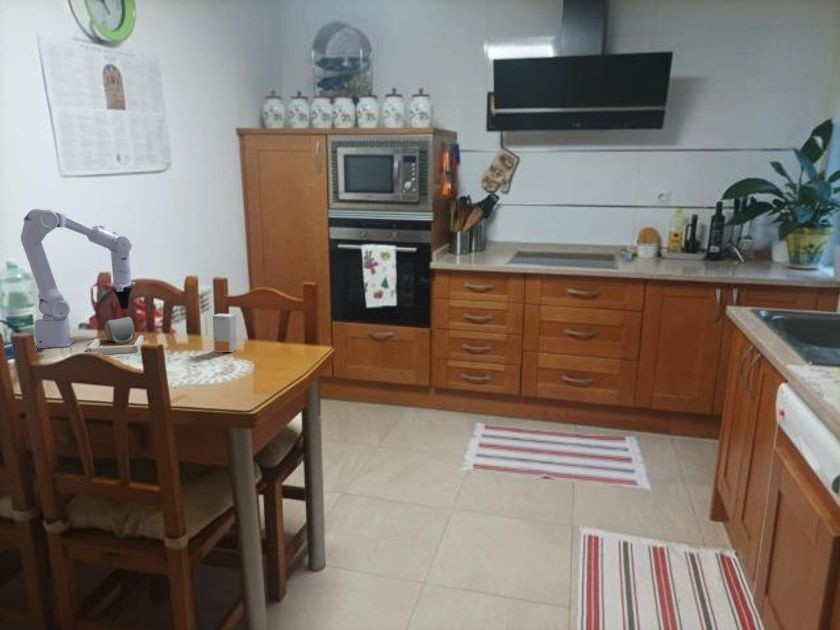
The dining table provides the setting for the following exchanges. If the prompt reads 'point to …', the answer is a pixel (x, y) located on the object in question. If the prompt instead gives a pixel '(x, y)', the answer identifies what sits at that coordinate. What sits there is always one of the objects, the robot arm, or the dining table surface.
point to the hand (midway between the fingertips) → (124, 308)
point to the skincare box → (224, 332)
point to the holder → (115, 347)
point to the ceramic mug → (120, 330)
